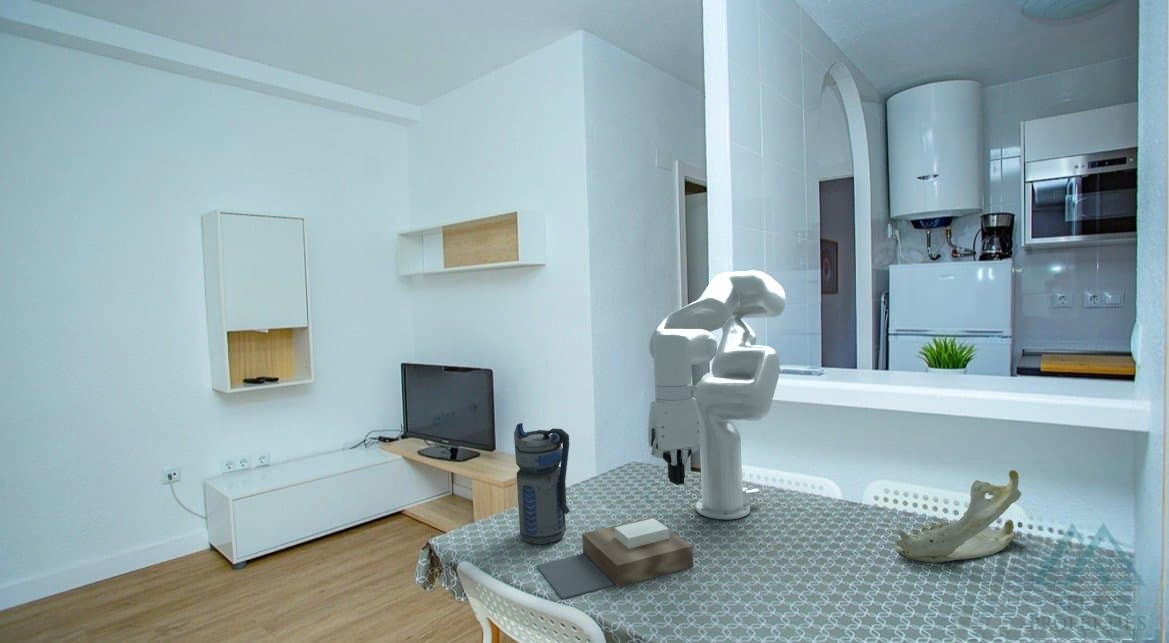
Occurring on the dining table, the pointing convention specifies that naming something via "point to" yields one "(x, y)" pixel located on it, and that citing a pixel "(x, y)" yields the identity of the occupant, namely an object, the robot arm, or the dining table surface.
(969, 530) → the jawbone
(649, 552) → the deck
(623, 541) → the pale grey flat tile
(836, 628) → the dining table surface
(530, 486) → the beverage bottle
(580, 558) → the mat
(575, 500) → the dining table surface
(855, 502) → the dining table surface
